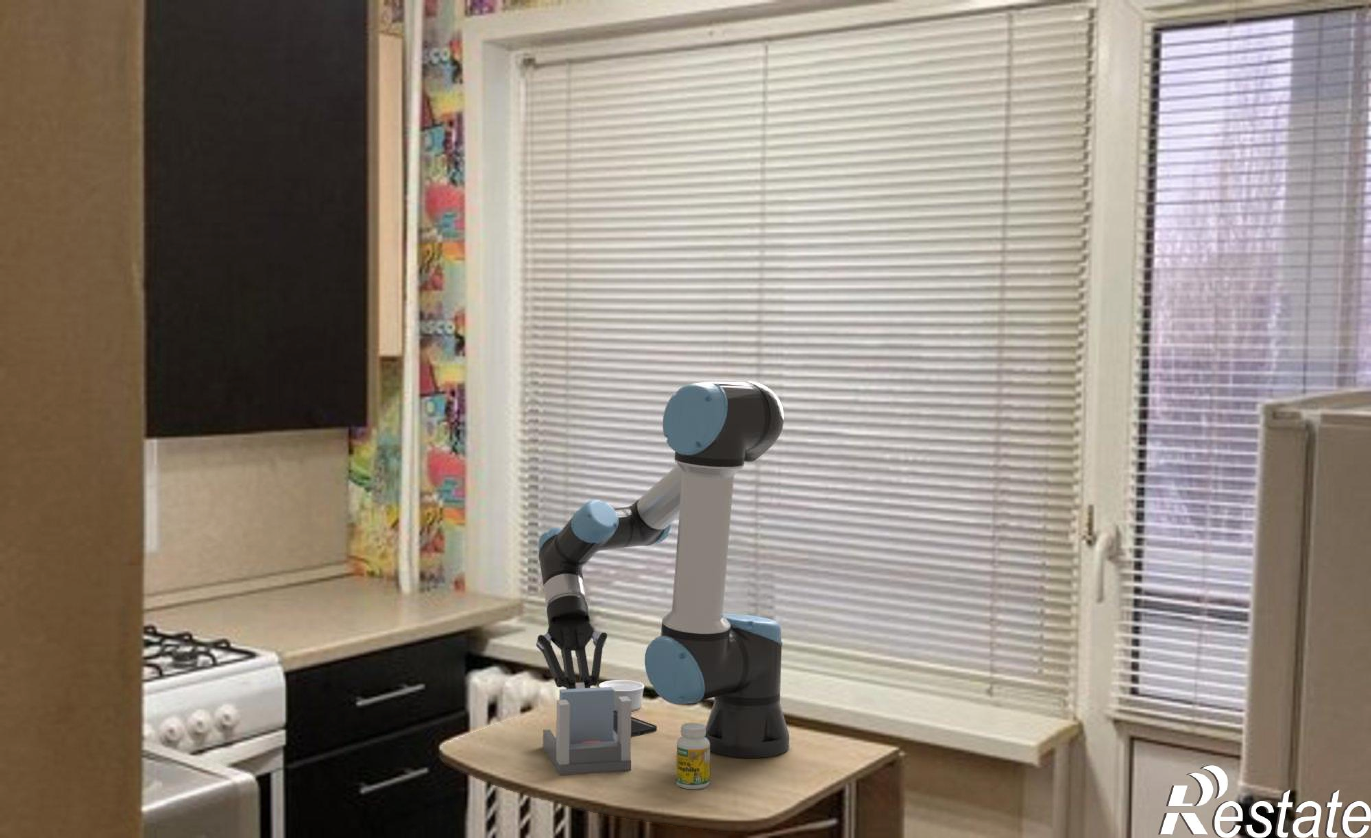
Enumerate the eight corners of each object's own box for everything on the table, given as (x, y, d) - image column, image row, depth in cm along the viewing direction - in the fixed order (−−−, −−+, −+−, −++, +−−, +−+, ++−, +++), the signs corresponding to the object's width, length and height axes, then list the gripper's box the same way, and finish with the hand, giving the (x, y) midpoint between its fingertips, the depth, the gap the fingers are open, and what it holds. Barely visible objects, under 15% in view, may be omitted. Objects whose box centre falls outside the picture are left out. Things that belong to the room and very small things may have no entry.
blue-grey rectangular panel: (558, 747, 233) (559, 689, 233) (610, 744, 236) (611, 686, 235) (560, 750, 231) (561, 692, 231) (613, 747, 234) (613, 689, 233)
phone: (609, 708, 262) (659, 726, 251) (609, 714, 262) (659, 732, 251) (576, 715, 257) (625, 733, 246) (576, 721, 257) (625, 739, 246)
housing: (542, 746, 240) (543, 681, 239) (610, 742, 243) (610, 678, 242) (559, 774, 224) (560, 705, 224) (631, 769, 228) (632, 701, 227)
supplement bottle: (714, 781, 222) (715, 723, 222) (702, 791, 217) (703, 732, 217) (683, 777, 224) (684, 719, 224) (670, 787, 219) (671, 728, 219)
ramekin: (602, 699, 272) (602, 678, 272) (646, 701, 271) (647, 680, 271) (595, 711, 263) (595, 689, 263) (640, 713, 262) (641, 691, 262)
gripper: (598, 615, 255) (616, 728, 240) (528, 617, 252) (543, 732, 236) (604, 592, 250) (624, 706, 235) (533, 594, 246) (549, 710, 231)
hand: (583, 719), depth 236 cm, fingers closed
